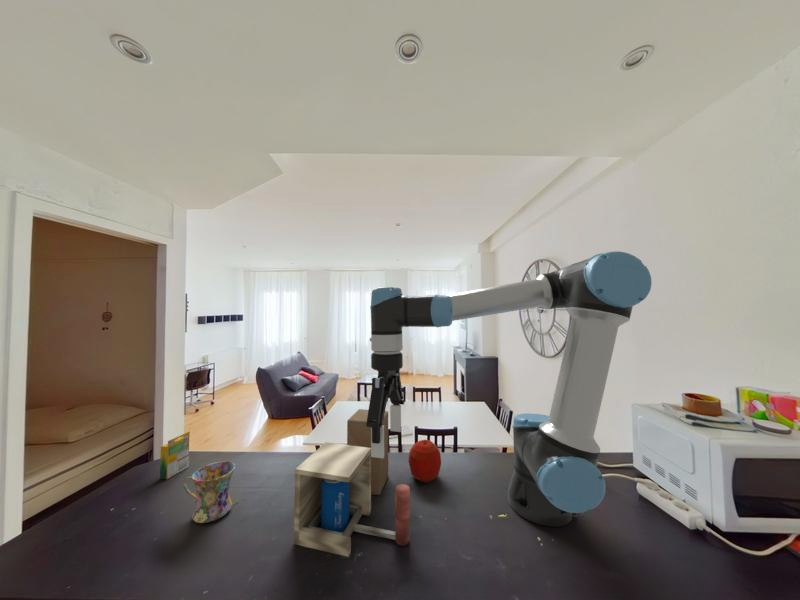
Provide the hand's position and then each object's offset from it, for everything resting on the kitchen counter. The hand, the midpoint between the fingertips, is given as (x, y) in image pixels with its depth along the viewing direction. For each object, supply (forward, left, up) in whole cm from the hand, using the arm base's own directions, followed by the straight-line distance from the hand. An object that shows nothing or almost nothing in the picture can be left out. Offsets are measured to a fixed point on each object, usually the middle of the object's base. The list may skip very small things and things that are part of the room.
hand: (387, 442), depth 66 cm
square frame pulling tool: (+6, +2, -20) cm, 21 cm away
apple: (-5, -23, -20) cm, 31 cm away
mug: (+46, +6, -20) cm, 51 cm away
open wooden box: (+12, +2, -20) cm, 24 cm away
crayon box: (+73, -6, -20) cm, 76 cm away
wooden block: (+11, -16, -20) cm, 28 cm away
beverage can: (+12, +2, -20) cm, 24 cm away
